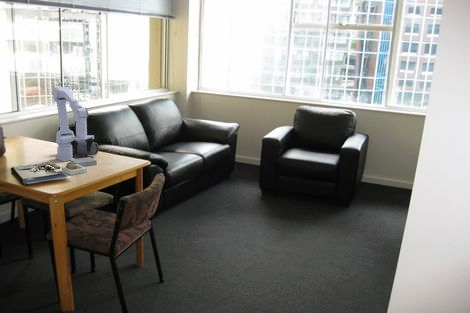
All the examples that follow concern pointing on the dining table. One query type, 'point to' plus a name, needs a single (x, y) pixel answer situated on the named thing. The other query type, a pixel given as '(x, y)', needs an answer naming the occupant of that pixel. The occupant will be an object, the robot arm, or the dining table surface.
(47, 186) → the dining table surface
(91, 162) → the slab
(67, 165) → the roller
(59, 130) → the robot arm
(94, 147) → the bluetooth speaker
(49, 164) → the bar
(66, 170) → the tray
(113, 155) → the dining table surface
